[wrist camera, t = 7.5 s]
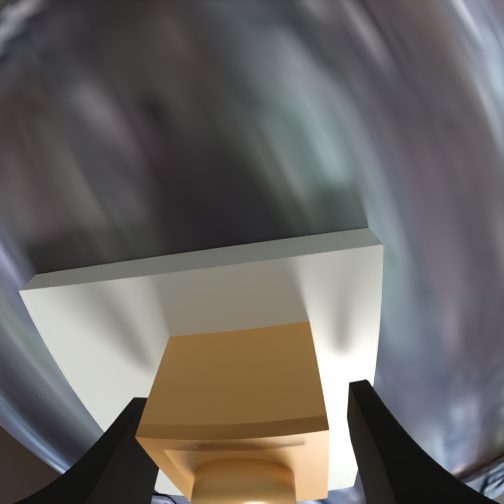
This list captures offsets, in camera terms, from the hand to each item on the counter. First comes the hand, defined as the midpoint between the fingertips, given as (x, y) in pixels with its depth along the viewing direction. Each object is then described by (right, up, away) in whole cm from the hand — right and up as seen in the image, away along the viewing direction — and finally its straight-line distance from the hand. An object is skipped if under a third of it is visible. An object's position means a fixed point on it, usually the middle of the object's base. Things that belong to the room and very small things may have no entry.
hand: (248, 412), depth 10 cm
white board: (-1, -3, +5) cm, 5 cm away
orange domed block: (0, +1, +2) cm, 2 cm away
